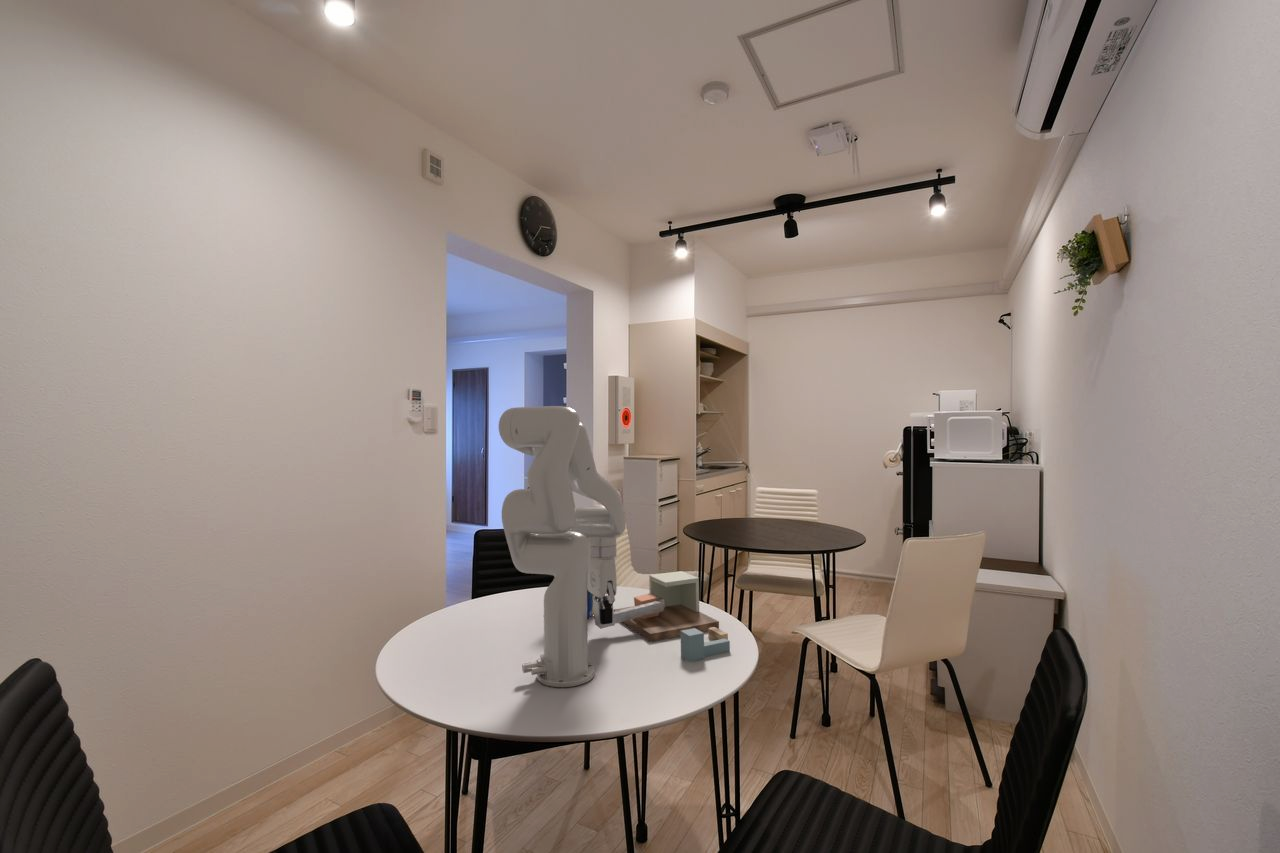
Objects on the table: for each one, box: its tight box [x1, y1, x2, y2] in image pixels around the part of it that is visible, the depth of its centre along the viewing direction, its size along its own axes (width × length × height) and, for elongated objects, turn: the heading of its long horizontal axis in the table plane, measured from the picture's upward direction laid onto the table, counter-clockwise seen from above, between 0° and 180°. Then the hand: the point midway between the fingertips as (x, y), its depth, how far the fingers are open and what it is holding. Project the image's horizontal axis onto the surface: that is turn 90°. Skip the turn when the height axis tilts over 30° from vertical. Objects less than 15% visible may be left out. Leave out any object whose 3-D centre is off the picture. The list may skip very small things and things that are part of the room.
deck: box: [613, 604, 720, 642], centre depth 158 cm, size 21×24×2 cm
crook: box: [593, 594, 665, 629], centre depth 154 cm, size 21×10×7 cm, turn 116°
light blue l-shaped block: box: [680, 628, 731, 663], centre depth 134 cm, size 12×4×6 cm, turn 116°
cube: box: [633, 592, 659, 619], centre depth 158 cm, size 5×5×5 cm
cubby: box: [648, 570, 700, 612], centre depth 164 cm, size 11×10×10 cm
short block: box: [707, 627, 729, 641], centre depth 144 cm, size 6×2×2 cm, turn 26°
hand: (603, 620), depth 148 cm, fingers closed on crook, 4 cm apart
